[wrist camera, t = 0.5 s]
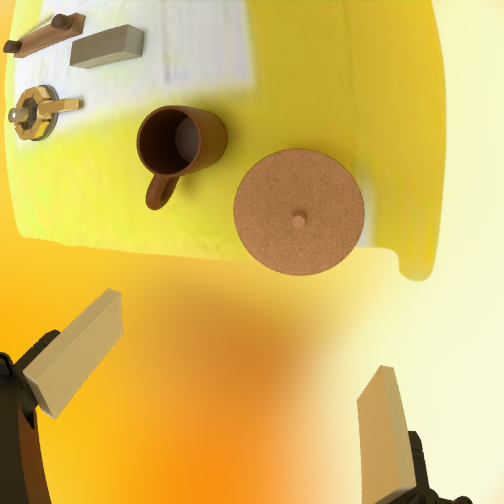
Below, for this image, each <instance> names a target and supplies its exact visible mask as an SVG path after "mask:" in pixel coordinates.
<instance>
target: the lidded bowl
mask: <svg viewBox="0 0 504 504" xmlns="http://www.w3.org/2000/svg"><path fill="white" fill-rule="evenodd" d="M234 221H235V226H236V230H237V232H238V235H239V238H240V239H241V241H242V243H243V245H244V246H245V248H246V249H247V250H248V252H249V253H250V254H251V255H252V256H253V257H254V258H255V259H256V260H257V261H259V262H260V263H262V264H263V265H264V266H266V267H268V268H270V269H272V270H274V271H277V272H280V273H283V274H288V275H296V276H297V275H298V276H305V275H313V274H317V273H321V272H323V271H326V270H328V269H330V268H332V267H334V266H336V265H337V264H339V263H340V262H341V261H342V260H343V259H345V258H346V257H347V256H348V254H349V253H350V252H351V251H352V249H353V248H354V247H355V245H356V244H357V242H358V239H359V237H360V235H361V232H362V228H363V224H364V203H363V199H362V195H361V192H360V190H359V187H358V185H357V183H356V181H355V180H354V178H353V177H352V175H351V174H350V173H349V172H348V171H347V170H346V168H345V167H344V166H342V165H341V164H340V163H339V162H337V161H336V160H335V159H333V158H331V157H329V156H328V155H326V154H323V153H320V152H318V151H314V150H309V149H288V150H283V151H279V152H276V153H273V154H271V155H269V156H267V157H265V158H263V159H262V160H261V161H259V162H258V163H256V164H255V165H254V166H253V167H252V168H251V169H250V170H249V171H248V172H247V174H246V175H245V177H244V178H243V179H242V181H241V183H240V185H239V187H238V190H237V193H236V197H235V202H234Z"/></svg>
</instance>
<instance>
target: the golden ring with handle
mask: <svg viewBox="0 0 504 504" xmlns="http://www.w3.org/2000/svg"><path fill="white" fill-rule="evenodd" d="M51 98H52V97H51V96H50V94H49V93H48V91H47V90H46V88H45V87H32V88H29V89H27V90H25V92H23V93H22V95H21V97H20V99H19V101H18V103H17V105H16V107H17V108H19V107H29V106H30V104H31V102H32V100H33V99H34V100H35V101H36V103H37V104H38V107H37V119H36V121H35V123H34V125H33V126H32V128H31V127H30V126H29V124H28V122H27V121H20V122H14V126H16V127H15V130H16V132H17V133H18V135H19V137H20V139H23V140H28V139H34V138H41V136H43V134H44V132H45V130H46V129H47V127H48V125H49V123H50V120H49V119H51V115H52V114H55V113H60V112H65V111H71V110H76V109H78V106H79V99H61V100H57V101H53V102H52V100H51Z"/></svg>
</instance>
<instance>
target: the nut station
mask: <svg viewBox="0 0 504 504" xmlns="http://www.w3.org/2000/svg"><path fill="white" fill-rule="evenodd" d="M38 87H45V88H46V90H47V91H48V93H49V94H50V96H51V97H52V98H51V100H52V102H53V101H57V100H58V96H57V93H56V91H55V90H54V88H52V87H51V86H48V85H40V86H38ZM37 107H38V104H37V103H36V101H35V100H34V99H33V100H32V102H31V104H30V106H29V107H19V108H12V109H11V110H10V111H9V115H8V119H9V122H11V123H12V122H20V121H27V122H28V124H29V126H30V127H31V128H32V126H33V125H34V123H35V121H36V119H37ZM57 118H58V113H55V114H52V115H51V119H49V120H50V123H49V125H48V127H47V129H46V130H45V132H44V134H43V136H41V138H34V139H30V140H32V141H39V140H43V139H45V138H47V137H48V136H49V135H50V134H51V132H52V131H53V129H54V127H55V125H56V122H57Z"/></svg>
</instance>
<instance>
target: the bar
mask: <svg viewBox="0 0 504 504" xmlns="http://www.w3.org/2000/svg"><path fill="white" fill-rule="evenodd" d="M143 36H144V32H143V31H141V30H139V29H137V28H135V27H133V26H131V25H128V24H127V25H123V26H120V27H116V28H112V29H109V30H106V31H102V32H99V33H96V34H93V35H90V36H87V37H84V38H81V39H78V40H76V41H73V43H72V50H71V58H70V66H74V67H80V68H86V69H88V68H92V67H96V66H100V65H104V64H108V63H112V62H117V61H122V60H126V59H131V58H137V57H141V54H142V45H143Z"/></svg>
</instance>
